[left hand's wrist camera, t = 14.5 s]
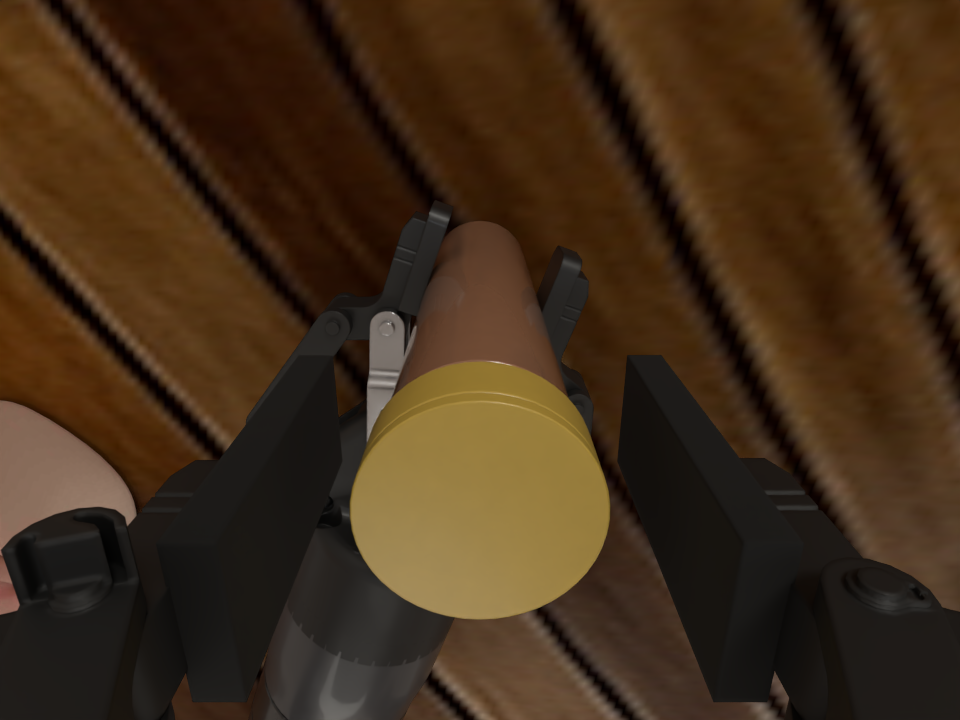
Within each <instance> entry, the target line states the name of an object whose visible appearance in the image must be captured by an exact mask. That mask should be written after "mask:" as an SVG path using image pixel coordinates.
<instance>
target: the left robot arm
mask: <svg viewBox="0 0 960 720" xmlns="http://www.w3.org/2000/svg"><path fill="white" fill-rule="evenodd" d="M341 464H342V450H341V439H340V429H339V418H338V407H337V397H336V386H335V375H334V365H333V355H299V356H298V357H297V358H296V360H295V361H294V362H293V364H292V365H291V366H290V368H289V369H288V370H287V371H286V373H285V374H284V375H283V377H282V378H281V379H280V381H279V382H278V383H277V385H276V386H275V387H274V389H273V390H272V391H271V393H270V394H269V395H268V396H267V398H266V399H265V400H264V402H263V403H262V404H261V406H260V407H259V408H258V410H257V411H256V412H255V414H254V415H253V416H252V418H251V419H250V420H249V421H248V423H247V424H246V425H245V427H244V428H243V429H242V431H241V432H240V433H239V435H238V436H237V437H236V439H235V440H234V441H233V443H232V444H231V445H230V446H229V448H228V449H227V450H226V452H225V453H224V454H223V456H222V457H221V458H220V460H195V461H194V462H192V463H190V464H189V465H187V466H186V467H184V468H182V469H181V470H179V471H178V472H176V473H174V474H173V475H171V476H170V477H169V478H168V480H167V481H166V482H165V483H164V484H163V485H162V487H161V488H160V489H159V490H158V491H157V492H156V494H155V497H152V498H151V499H150V501H149V502H148V503H147V504H146V505H145V506H144V507H143V509H142V513H138V514H137V516H136V517H135V518H134V519H133V520H132V521H131V523H130V524H129V525H128V526H127V523H126V519H125V516H123V515H122V514H121V513H120V512H118V511H117V510H116V509H110V508H104V507H87V508H77V509H73V510H69V511H65V512H61V513H57V514H54V515H52V516H49V517H47V518H45V519H42V520H40V521H38V522H35V523H33V524H31V525H30V526H28V527H27V528H25V529H23V530H22V531H20V532H19V533H17V534H16V535H14V536H13V537H12V538H11V539H10V540H9V541H8V542H7V544H6V545H5V546H4V547H3V548H2V549H1V553H2V556H3V558H4V561H5V564H6V567H7V570H8V573H9V576H10V579H11V581H12V584H13V587H14V590H15V593H16V596H17V599H18V602H19V604H20V606H19V608H18V610H17V611H13V612H10V613H5V614H1V615H0V720H175V715H174V710H173V706H172V702H171V700H172V698H173V696H174V694H175V692H176V690H177V688H178V687H179V685H180V683H181V681H182V679H183V677H184V675H185V673H186V675H187V679H188V684H189V688H190V692H191V697H192V701H193V702H247V699H248V697H249V694H250V692H251V689H252V687H253V684H254V682H255V679H256V677H257V674H258V672H259V669H260V667H261V664H262V662H263V659H264V657H265V654H266V652H267V649H268V647H269V644H270V642H271V639H272V637H273V634H274V632H275V629H276V627H277V624H278V622H279V619H280V617H281V614H282V612H283V609H284V607H285V604H286V602H287V599H288V597H289V594H290V592H291V589H292V587H293V584H294V582H295V579H296V577H297V574H298V572H299V569H300V567H301V564H302V562H303V559H304V557H305V554H306V552H307V549H308V546H309V544H310V541H311V539H312V536H313V534H314V531H315V529H316V526H317V524H318V521H319V519H320V516H321V514H322V511H323V509H324V506H325V504H326V501H327V499H328V496H329V494H330V491H331V489H332V486H333V484H334V481H335V479H336V476H337V474H338V471H339V469H340V466H341ZM618 464H619V466H620V469H621V471H622V474H623V476H624V479H625V481H626V484H627V486H628V489H629V491H630V494H631V496H632V499H633V501H634V504H635V506H636V509H637V511H638V514H639V516H640V519H641V521H642V524H643V526H644V529H645V531H646V534H647V536H648V539H649V541H650V544H651V547H652V549H653V552H654V554H655V557H656V559H657V562H658V564H659V567H660V569H661V572H662V574H663V577H664V579H665V582H666V584H667V587H668V589H669V592H670V594H671V597H672V599H673V602H674V604H675V607H676V609H677V612H678V614H679V617H680V619H681V622H682V624H683V627H684V629H685V632H686V634H687V637H688V639H689V642H690V644H691V647H692V649H693V652H694V654H695V657H696V659H697V662H698V664H699V667H700V669H701V672H702V674H703V677H704V679H705V682H706V684H707V687H708V689H709V692H710V694H711V697H712V699H713V702H767V701H768V697H769V692H770V688H771V684H772V679H773V675H774V671H775V672H776V674H777V676H778V678H779V679H780V681H781V683H782V685H783V687H784V689H785V691H786V693H787V695H788V696H789V702H788V706H787V710H786V714H785V718H784V720H960V612H958V611H954V610H950V609H946V608H942V606H941V604H940V603H939V602H938V600H937V599H936V598H935V596H934V595H933V594H932V592H931V591H930V590H929V589H928V588H927V587H925V586H924V585H923V584H921V583H920V582H919V581H917V580H916V579H915V578H914V577H912V576H911V575H909V574H906V573H904V572H902V571H900V570H898V569H896V568H894V567H892V566H890V565H887V564H884V563H880V562H877V561H873V560H870V559H864V558H862V557H861V555H860V554H859V553H858V552H857V551H856V550H855V548H854V547H853V546H852V545H851V544H850V543H849V542H848V540H847V539H846V538H845V537H844V536H843V535H842V533H841V532H840V531H839V530H838V529H837V528H836V527H835V525H834V524H833V523H832V522H831V521H830V520H829V519H828V517H827V516H826V515H825V514H824V513H823V512H822V510H818V506H817V505H816V504H815V502H814V501H813V500H812V499H811V498H810V497H809V495H805V491H804V490H803V489H802V487H801V486H800V485H799V484H798V483H797V482H796V480H795V479H794V478H793V477H792V476H791V475H790V474H789V473H788V472H786V471H785V470H783V469H781V468H780V467H778V466H776V465H775V464H773V463H772V462H770V461H768V460H767V459H765V458H739V457H738V456H737V454H736V453H735V452H734V450H733V449H732V448H731V446H730V445H729V444H728V443H727V441H726V440H725V439H724V437H723V436H722V435H721V433H720V432H719V431H718V429H717V428H716V427H715V425H714V424H713V423H712V421H711V420H710V419H709V418H708V416H707V415H706V414H705V412H704V411H703V410H702V408H701V407H700V406H699V404H698V403H697V402H696V400H695V399H694V398H693V396H692V395H691V394H690V393H689V391H688V390H687V389H686V387H685V386H684V385H683V383H682V382H681V381H680V379H679V378H678V377H677V375H676V374H675V373H674V372H673V370H672V369H671V368H670V366H669V365H668V364H667V362H666V361H665V360H664V358H663V357H662V356H661V355H627V365H626V375H625V386H624V397H623V407H622V418H621V429H620V439H619V450H618Z"/></svg>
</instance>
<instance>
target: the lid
mask: <svg viewBox="0 0 960 720" xmlns="http://www.w3.org/2000/svg"><path fill="white" fill-rule="evenodd" d="M609 521H610V500H609V492H608V488H607V484H606V481H605V477H604V474H603V471H602V468H601V466H600V463H599V460H598V457H597V454H596V451H595V448H594V445H593V442H592V440H591V437H590V434H589V431H588V428H587V426H586V424H585V422H584V420H583V418H582V416H581V415H580V413H579V411H578V410H577V408H576V407H575V405H574V404H573V403H572V402H571V401H570V400H569V399H568V398H567V396H566V395H565V394H563V393H562V392H561V391H560V390H559V389H558V388H556V387H555V386H554V385H553V384H551V383H550V382H548V381H546V380H545V379H543V378H542V377H540V376H538V375H536V374H534V373H531V372H529V371H527V370H524V369H521V368H518V367H515V366H511V365H506V364H501V363H495V362H464V363H459V364H453V365H448V366H445V367H442V368H438V369H435V370H433V371H431V372H428V373H426V374H424V375H422V376H420V377H418V378H417V379H415V380H413V381H412V382H410V383H408V384H407V385H406V386H405V387H403V388H402V389H401V390H400V391H398V392H397V393H396V394H395V395H394V396H393V397H392V398H391V400H390V401H389V402H388V403H387V404H386V405H385V407H384V408H383V410H382V411H381V412H380V414H379V415H378V417H377V419H376V421H375V423H374V425H373V428H372V430H371V433H370V436H369V439H368V442H367V445H366V448H365V451H364V454H363V456H362V459H361V462H360V465H359V468H358V471H357V474H356V477H355V480H354V483H353V486H352V491H351V497H350V522H351V528H352V532H353V536H354V539H355V542H356V545H357V547H358V549H359V551H360V553H361V555H362V557H363V559H364V561H365V562H366V564H367V565H368V566H369V568H370V569H371V571H372V572H373V573H374V574H375V575H376V576H377V577H378V579H379V580H380V581H381V582H382V583H383V584H385V585H386V586H387V587H388V588H389V589H390V590H391V591H393V592H394V593H396V594H397V595H399V596H400V597H402V598H403V599H405V600H407V601H409V602H410V603H412V604H414V605H416V606H418V607H421V608H423V609H426V610H428V611H431V612H434V613H438V614H441V615H445V616H450V617H456V618H462V619H477V620H481V619H497V618H504V617H510V616H514V615H518V614H522V613H526V612H529V611H531V610H534V609H537V608H539V607H541V606H543V605H545V604H547V603H549V602H551V601H553V600H555V599H556V598H558V597H559V596H561V595H563V594H564V593H566V592H567V591H568V590H569V589H570V588H572V587H573V586H574V585H575V584H576V583H577V582H578V581H579V580H580V579H581V578H582V577H583V576H584V575H585V574H586V573H587V572H588V570H589V569H590V567H591V566H592V565H593V563H594V562H595V560H596V558H597V557H598V555H599V553H600V551H601V549H602V547H603V544H604V541H605V538H606V535H607V531H608V526H609Z"/></svg>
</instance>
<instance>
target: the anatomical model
mask: <svg viewBox="0 0 960 720" xmlns="http://www.w3.org/2000/svg"><path fill="white" fill-rule="evenodd" d="M87 507H104V508H110V509H116V510H117V511H118V512H120V513H121V514H122V515H123V516H125V519H126V523H127V526H128V525H129V524H130V523H131V521H132V520H133V519H134V518H135V517H136V516H137V515H136V508H135V504H134V500H133V498H132V495H131V493H130V491H129V489H128V487H127V485H126V484H125V482H124V481H123V479H122V478H121V477H120V475H119V474H118V473H117V472H116V471H115V470H114V469H113V468H112V467H111V466H110V465H109V464H108V463H107V462H106V461H105V460H104V459H103V458H102V457H101V456H100V455H99V454H98V453H96V452H95V451H94V450H93V449H92V448H90V447H89V446H88V445H87V444H85V443H84V442H82V441H81V440H80V439H78V438H77V437H75V436H74V435H73V434H71V433H70V432H68V431H67V430H65V429H64V428H62V427H61V426H59V425H58V424H56V423H54V422H53V421H51V420H50V419H48V418H46V417H44V416H42V415H41V414H39V413H37V412H35V411H33V410H31V409H29V408H27V407H25V406H22V405H19V404H16V403H13V402H8V401H0V615H1V614H5V613H10V612H13V611H17V610H18V608H19V606H20V604H19V602H18V599H17V596H16V593H15V590H14V587H13V584H12V581H11V579H10V576H9V573H8V570H7V567H6V564H5V561H4V558H3V556H2V553H1V549H2V548H3V547H4V546H5V545H6V544H7V542H8V541H9V540H10V539H11V538H12V537H13V536H14V535H16V534H17V533H19V532H20V531H22V530H23V529H25V528H27V527H28V526H30V525H31V524H33V523H35V522H38V521H40V520H42V519H45V518H47V517H49V516H52V515H54V514H57V513H61V512H65V511H69V510H73V509H77V508H87Z"/></svg>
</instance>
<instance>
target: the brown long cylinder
mask: <svg viewBox="0 0 960 720" xmlns="http://www.w3.org/2000/svg"><path fill="white" fill-rule="evenodd" d="M464 362H495V363H501V364H506V365H511V366H515V367H518V368H521V369H524V370H527V371H529V372H531V373H534V374H536V375H538V376H540V377H542V378H543V379H545V380H546V381H548V382H550V383H551V384H553V385H554V386H555V387H556V388H558V389H559V390H560V391H561V392H562V393H563V394H565V395H566V396H567V398H568V399H569V397H568V394H567V391H566V388H565V385H564V381H563V378H562V375H561V372H560V369H559V366H558V362H557V359H556V356H555V353H554V350H553V347H552V344H551V340H550V337H549V334H548V331H547V328H546V325H545V321H544V318H543V315H542V312H541V309H540V306H539V302H538V299H537V296H536V293H535V290H534V287H533V283H532V280H531V277H530V274H529V271H528V268H527V265H526V261H525V258H524V255H523V252H522V249H521V247H520V245H519V243H518V241H517V240H516V239H515V237H514V236H513V235H512V234H511V233H510V232H509V231H507V230H506V229H505V228H503V227H501V226H500V225H497V224H495V223H491V222H486V221H474V222H469V223H465V224H463V225H460V226H458V227H457V228H455V229H453V230H452V231H451V232H450V233H449V234H448V235H447V236H446V237H445V238H444V240H443V241H442V243H441V246H440V249H439V252H438V255H437V258H436V261H435V264H434V267H433V270H432V273H431V276H430V279H429V282H428V285H427V288H426V290H425V293H424V295H423V298H422V302H421V305H420V308H419V311H418V314H417V317H416V321H415V324H414V327H413V330H412V333H411V336H410V339H409V343H408V346H407V349H406V352H405V355H404V358H403V362H402V365H401V368H400V371H399V374H398V377H397V381H396V384H395V387H394V390H393V393H392V396H391V398H392V397H393V396H394V395H395V394H396V393H397V392H398V391H400V390H401V389H402V388H403V387H405V386H406V385H407V384H408V383H410V382H412V381H413V380H415V379H417V378H418V377H420V376H422V375H424V374H426V373H428V372H431V371H433V370H435V369H438V368H442V367H445V366H448V365H453V364H459V363H464Z"/></svg>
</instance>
